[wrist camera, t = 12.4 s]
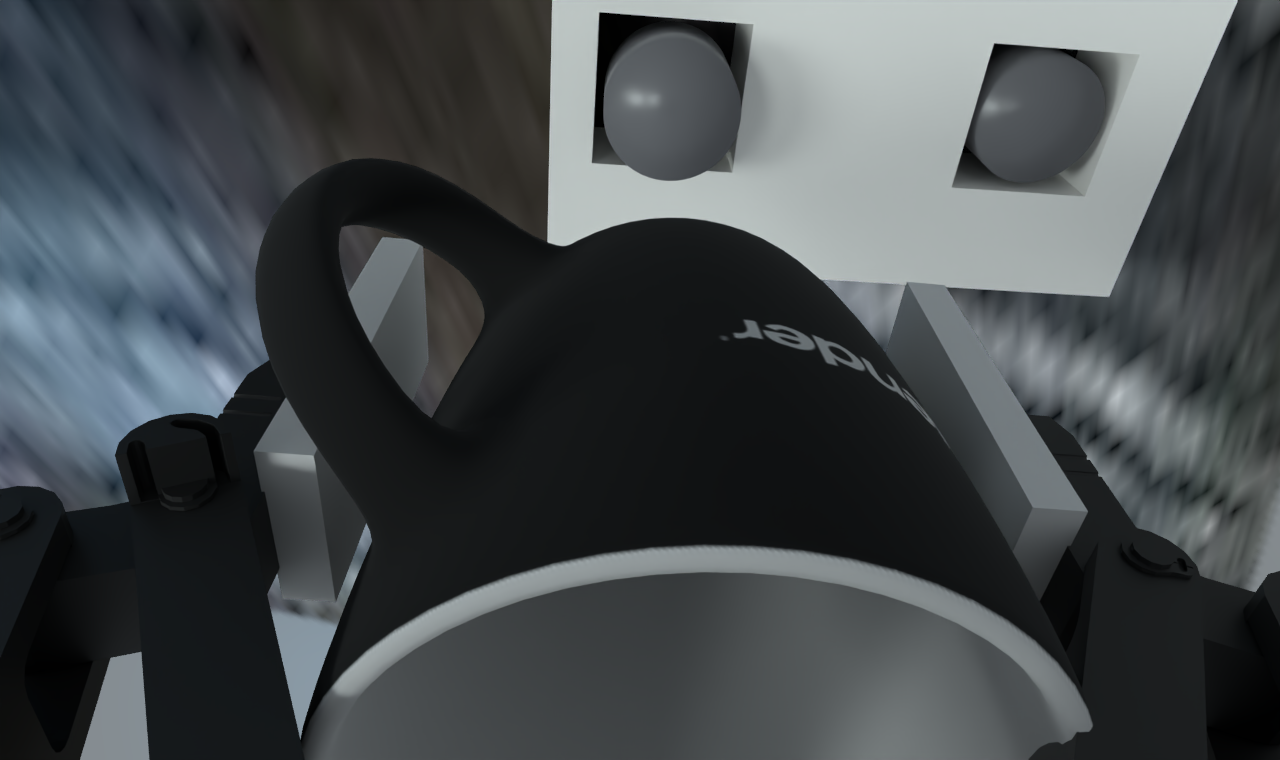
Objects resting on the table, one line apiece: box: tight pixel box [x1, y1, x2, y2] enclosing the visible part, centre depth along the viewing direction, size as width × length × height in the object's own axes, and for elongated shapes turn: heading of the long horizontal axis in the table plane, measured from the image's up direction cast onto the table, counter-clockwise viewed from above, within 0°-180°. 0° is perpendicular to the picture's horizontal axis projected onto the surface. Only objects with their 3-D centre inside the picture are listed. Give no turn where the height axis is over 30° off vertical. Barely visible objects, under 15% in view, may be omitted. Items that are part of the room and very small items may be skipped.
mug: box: [256, 158, 1093, 760], centre depth 13 cm, size 12×9×10 cm
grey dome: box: [964, 43, 1105, 183], centre depth 31 cm, size 4×4×3 cm
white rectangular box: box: [548, 0, 1238, 297], centre depth 31 cm, size 22×13×4 cm, turn 86°
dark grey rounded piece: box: [603, 21, 741, 181], centre depth 29 cm, size 4×4×3 cm
